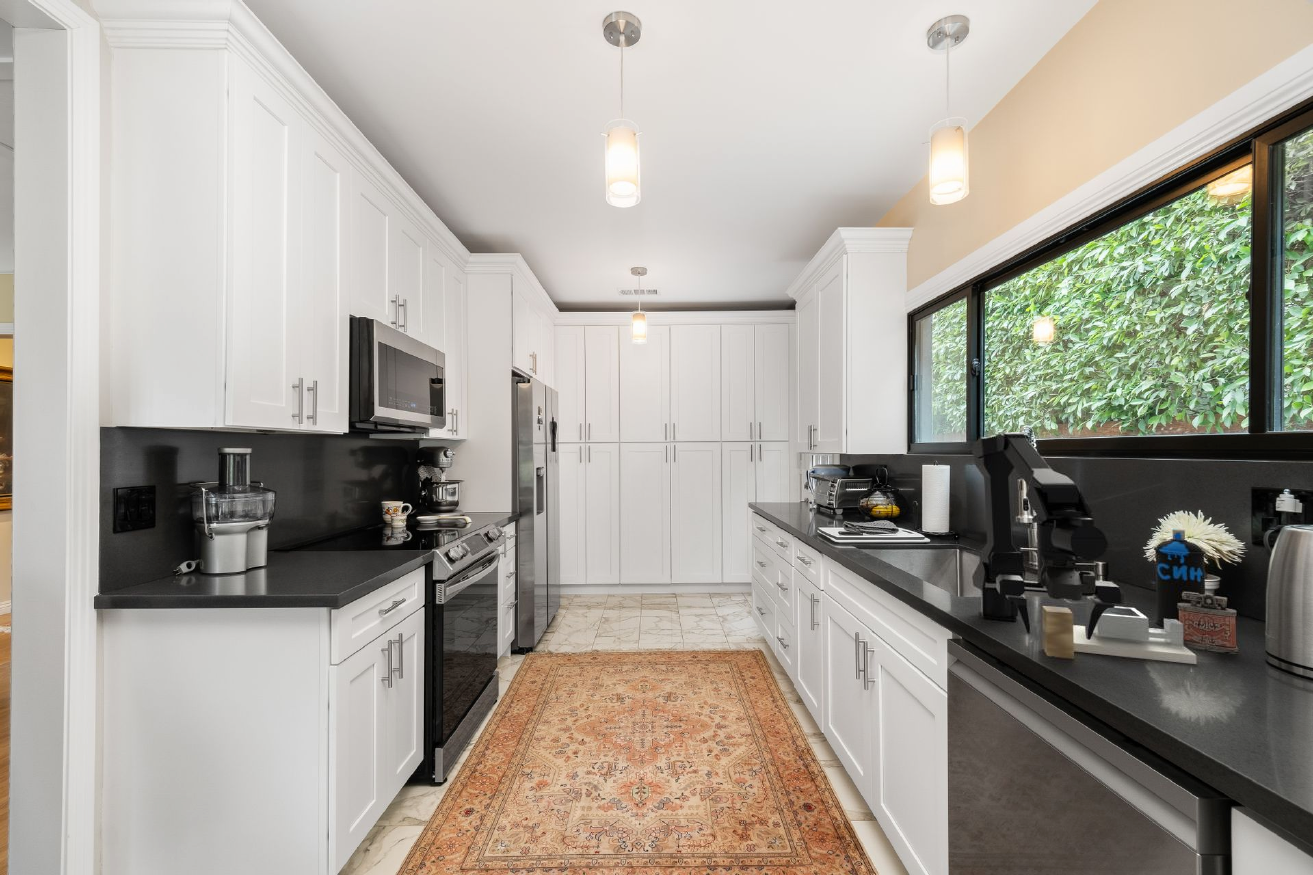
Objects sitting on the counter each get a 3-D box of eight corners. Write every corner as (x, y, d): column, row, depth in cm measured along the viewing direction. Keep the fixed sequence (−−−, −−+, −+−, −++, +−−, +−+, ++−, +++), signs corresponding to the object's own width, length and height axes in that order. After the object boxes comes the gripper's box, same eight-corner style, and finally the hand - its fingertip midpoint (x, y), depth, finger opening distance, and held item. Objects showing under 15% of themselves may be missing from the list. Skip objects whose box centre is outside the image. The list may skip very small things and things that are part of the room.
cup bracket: (1097, 641, 110) (1097, 614, 110) (1087, 629, 117) (1086, 604, 117) (1188, 650, 105) (1188, 621, 105) (1171, 637, 112) (1171, 610, 112)
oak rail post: (1047, 655, 107) (1046, 611, 107) (1043, 648, 111) (1042, 605, 111) (1074, 658, 106) (1072, 613, 106) (1068, 651, 109) (1067, 607, 110)
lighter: (1237, 650, 109) (1235, 595, 110) (1237, 654, 107) (1236, 598, 107) (1178, 640, 115) (1177, 588, 115) (1178, 645, 112) (1176, 591, 113)
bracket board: (1064, 650, 110) (1064, 642, 110) (1050, 630, 122) (1050, 622, 122) (1196, 664, 102) (1196, 655, 102) (1167, 641, 114) (1166, 633, 114)
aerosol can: (1157, 617, 130) (1155, 526, 130) (1209, 625, 124) (1206, 529, 125) (1153, 626, 124) (1150, 529, 125) (1206, 634, 118) (1203, 533, 119)
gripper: (1002, 554, 105) (1004, 643, 105) (1133, 561, 98) (1136, 657, 97) (995, 544, 115) (996, 625, 115) (1112, 550, 108) (1115, 637, 108)
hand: (1057, 635), depth 108 cm, fingers open, 9 cm apart
